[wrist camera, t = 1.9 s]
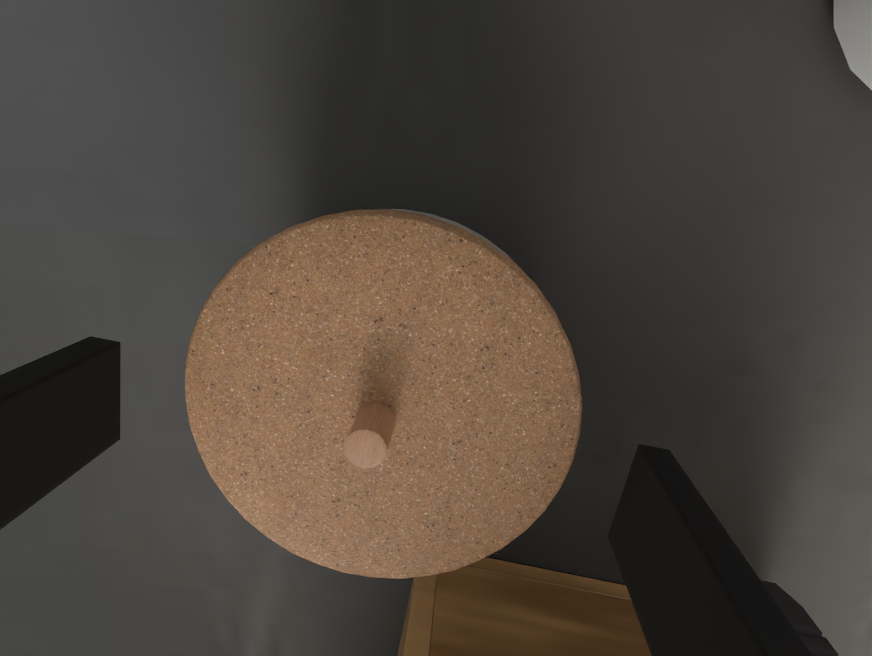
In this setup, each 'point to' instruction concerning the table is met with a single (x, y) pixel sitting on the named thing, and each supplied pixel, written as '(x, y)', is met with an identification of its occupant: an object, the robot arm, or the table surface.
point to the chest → (519, 614)
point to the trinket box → (383, 393)
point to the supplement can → (855, 35)
